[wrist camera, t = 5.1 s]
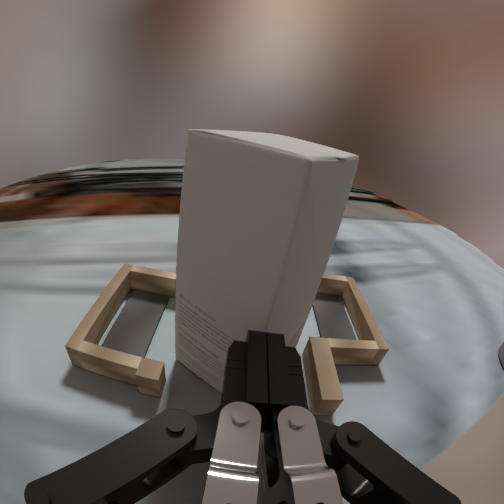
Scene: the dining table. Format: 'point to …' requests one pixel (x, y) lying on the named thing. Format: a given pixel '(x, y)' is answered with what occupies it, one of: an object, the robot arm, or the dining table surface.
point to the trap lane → (164, 285)
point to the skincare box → (252, 239)
